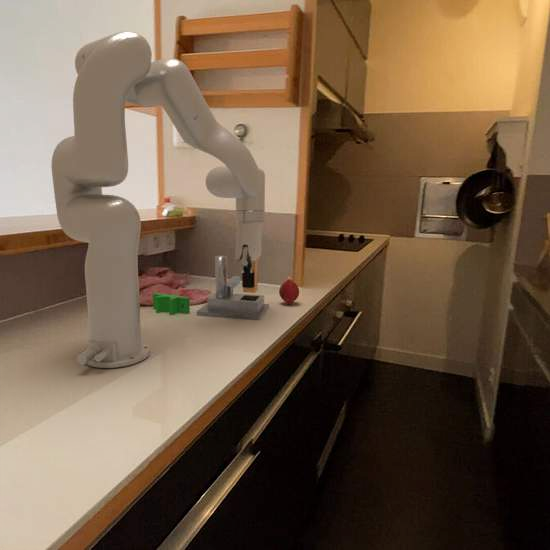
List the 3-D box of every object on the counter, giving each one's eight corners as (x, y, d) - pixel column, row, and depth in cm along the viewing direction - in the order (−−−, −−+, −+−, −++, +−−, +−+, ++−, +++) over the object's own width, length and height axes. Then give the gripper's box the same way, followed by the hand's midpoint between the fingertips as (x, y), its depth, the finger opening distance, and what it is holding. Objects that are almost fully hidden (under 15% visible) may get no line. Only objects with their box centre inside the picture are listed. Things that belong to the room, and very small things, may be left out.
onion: (302, 303, 127) (303, 277, 125) (292, 307, 122) (292, 280, 120) (285, 300, 130) (286, 274, 128) (275, 304, 125) (275, 277, 124)
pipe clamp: (147, 312, 117) (146, 295, 116) (156, 308, 120) (155, 292, 119) (181, 317, 112) (181, 300, 111) (190, 313, 116) (189, 296, 115)
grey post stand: (258, 319, 110) (259, 262, 107) (196, 315, 114) (195, 259, 111) (275, 299, 131) (275, 250, 128) (221, 295, 134) (221, 248, 131)
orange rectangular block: (243, 292, 115) (242, 255, 113) (246, 289, 118) (246, 253, 116) (254, 292, 114) (254, 255, 112) (257, 290, 117) (257, 253, 115)
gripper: (244, 214, 120) (244, 278, 124) (226, 219, 105) (227, 292, 108) (270, 215, 119) (270, 280, 123) (256, 219, 103) (256, 294, 107)
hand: (250, 285), depth 116 cm, fingers closed on orange rectangular block, 3 cm apart
